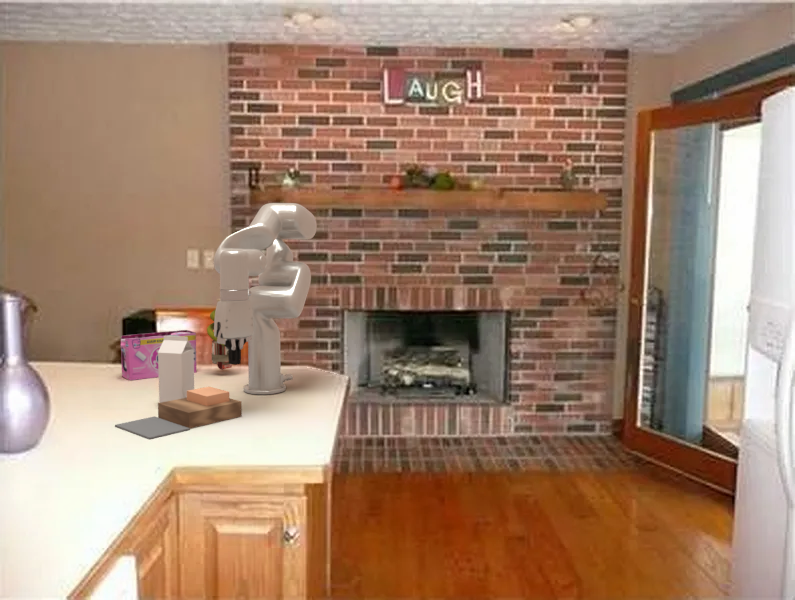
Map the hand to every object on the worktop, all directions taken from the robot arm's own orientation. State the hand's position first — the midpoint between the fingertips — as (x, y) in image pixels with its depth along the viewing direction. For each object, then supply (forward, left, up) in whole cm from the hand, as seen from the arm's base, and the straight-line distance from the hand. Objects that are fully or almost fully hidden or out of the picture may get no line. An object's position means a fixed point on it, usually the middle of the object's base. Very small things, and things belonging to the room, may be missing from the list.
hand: (234, 363), depth 207 cm
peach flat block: (+8, 0, -9) cm, 12 cm away
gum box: (-11, -55, -13) cm, 58 cm away
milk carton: (+7, -17, -13) cm, 23 cm away
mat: (+25, 0, -13) cm, 28 cm away
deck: (+11, 0, -13) cm, 17 cm away
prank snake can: (-26, -41, -13) cm, 51 cm away
